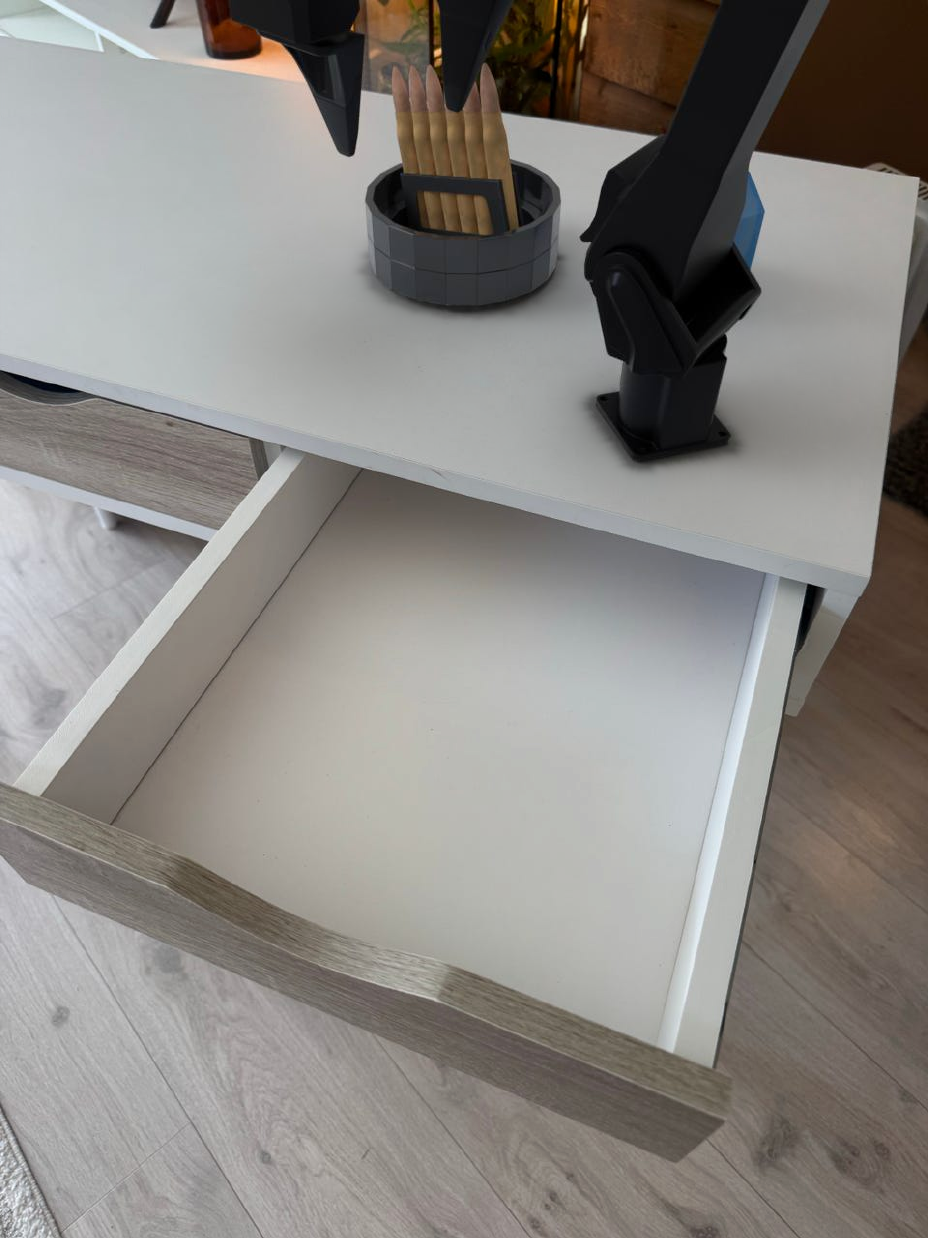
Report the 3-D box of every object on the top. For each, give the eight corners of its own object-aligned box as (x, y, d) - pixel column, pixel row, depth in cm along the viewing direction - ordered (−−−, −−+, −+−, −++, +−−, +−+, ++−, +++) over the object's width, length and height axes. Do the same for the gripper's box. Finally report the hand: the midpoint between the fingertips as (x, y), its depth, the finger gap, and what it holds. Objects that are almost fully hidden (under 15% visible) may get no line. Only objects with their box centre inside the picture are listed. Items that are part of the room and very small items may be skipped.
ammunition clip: (528, 246, 68) (504, 58, 60) (511, 255, 67) (485, 65, 60) (427, 233, 74) (395, 62, 67) (411, 241, 74) (376, 69, 66)
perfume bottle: (680, 317, 67) (714, 142, 58) (626, 280, 70) (650, 109, 61) (744, 294, 69) (786, 121, 60) (689, 259, 73) (720, 91, 64)
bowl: (582, 296, 69) (590, 223, 65) (396, 326, 66) (392, 252, 62) (519, 212, 78) (522, 143, 74) (353, 235, 75) (347, 165, 71)
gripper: (406, -242, 54) (416, 61, 65) (127, -204, 44) (197, 140, 56) (557, -222, 49) (539, 102, 60) (278, -174, 39) (320, 196, 51)
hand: (402, 131), depth 57 cm, fingers open, 9 cm apart
